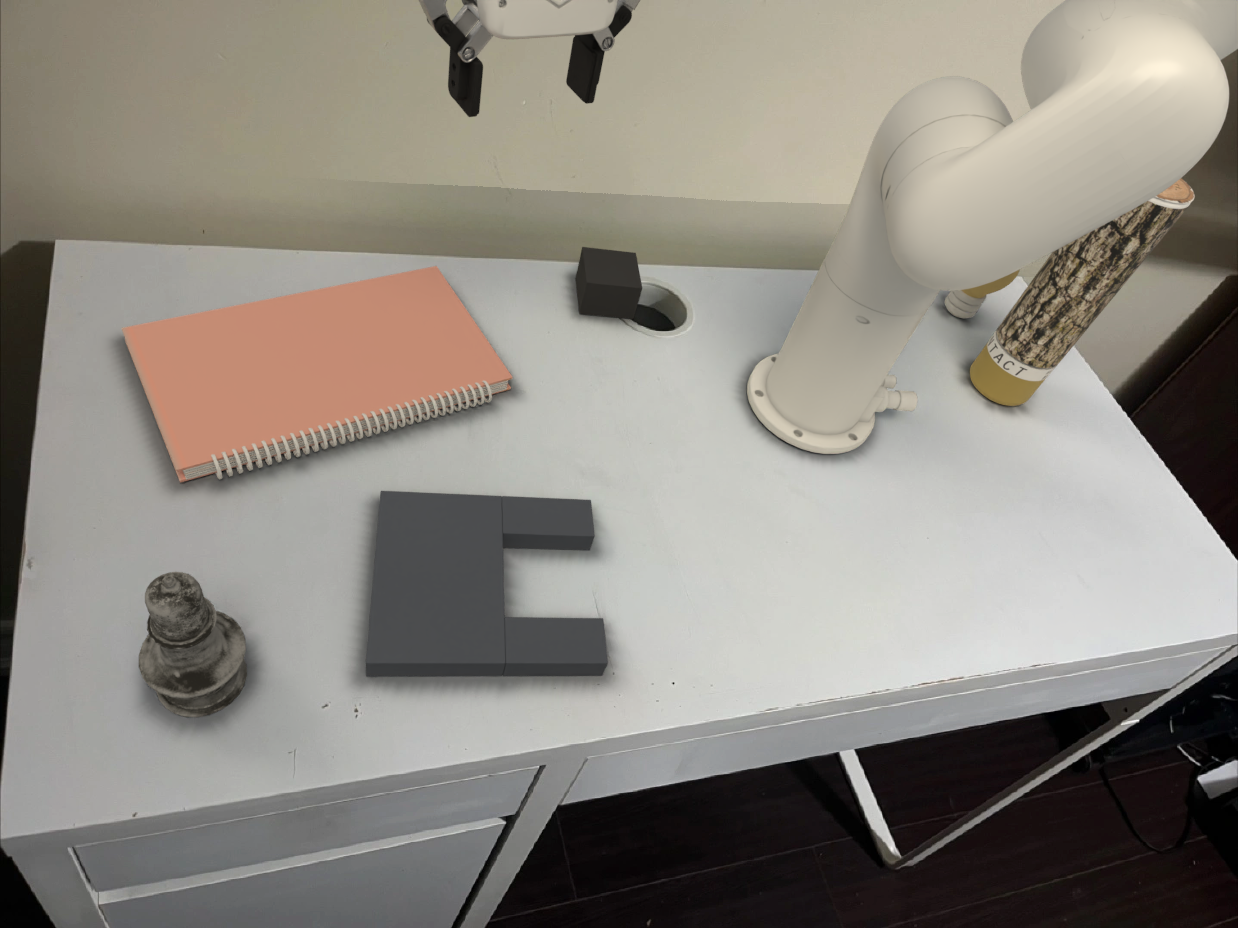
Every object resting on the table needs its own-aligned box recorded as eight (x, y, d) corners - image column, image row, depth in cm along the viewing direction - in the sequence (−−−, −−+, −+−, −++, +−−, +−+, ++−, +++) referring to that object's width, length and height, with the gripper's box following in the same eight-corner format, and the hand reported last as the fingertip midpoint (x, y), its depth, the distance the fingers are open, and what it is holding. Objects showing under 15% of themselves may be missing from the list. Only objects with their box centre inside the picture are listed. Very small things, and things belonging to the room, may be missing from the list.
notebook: (185, 495, 63) (180, 478, 61) (125, 343, 70) (120, 325, 69) (516, 399, 76) (518, 383, 74) (435, 279, 83) (436, 263, 82)
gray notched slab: (586, 514, 69) (591, 499, 68) (602, 676, 60) (608, 663, 59) (380, 506, 66) (380, 490, 64) (366, 677, 57) (365, 663, 55)
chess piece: (209, 619, 57) (177, 513, 48) (272, 673, 56) (251, 574, 47) (128, 682, 53) (78, 580, 44) (194, 741, 52) (155, 648, 43)
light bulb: (970, 294, 102) (1017, 223, 94) (992, 331, 98) (1043, 260, 90) (923, 290, 100) (967, 218, 93) (943, 327, 96) (990, 255, 89)
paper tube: (1003, 361, 95) (1158, 157, 76) (1039, 406, 91) (1211, 203, 72) (954, 365, 92) (1101, 156, 73) (989, 412, 88) (1153, 203, 70)
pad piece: (627, 283, 89) (636, 252, 86) (633, 319, 86) (642, 288, 83) (575, 278, 88) (582, 246, 85) (579, 314, 85) (586, 282, 82)
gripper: (452, -154, 45) (437, 141, 58) (708, -142, 54) (645, 115, 66) (395, -206, 49) (393, 84, 62) (643, -187, 57) (596, 66, 70)
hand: (524, 100), depth 64 cm, fingers open, 9 cm apart
